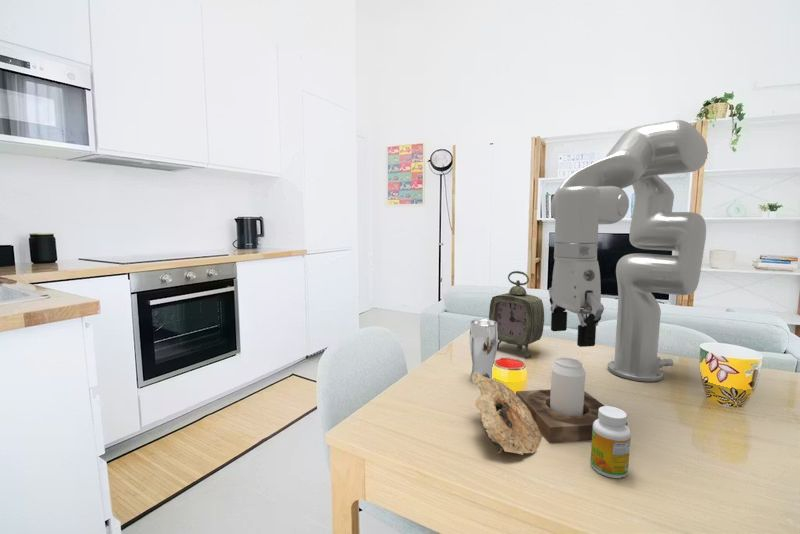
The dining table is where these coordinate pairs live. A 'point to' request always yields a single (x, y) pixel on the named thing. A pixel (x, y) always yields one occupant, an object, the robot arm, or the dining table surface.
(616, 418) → the supplement bottle
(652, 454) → the dining table surface
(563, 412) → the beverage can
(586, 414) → the can holder
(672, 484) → the dining table surface
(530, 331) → the tabletop clock
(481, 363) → the beer glass
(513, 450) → the holed granite stone
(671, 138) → the robot arm
